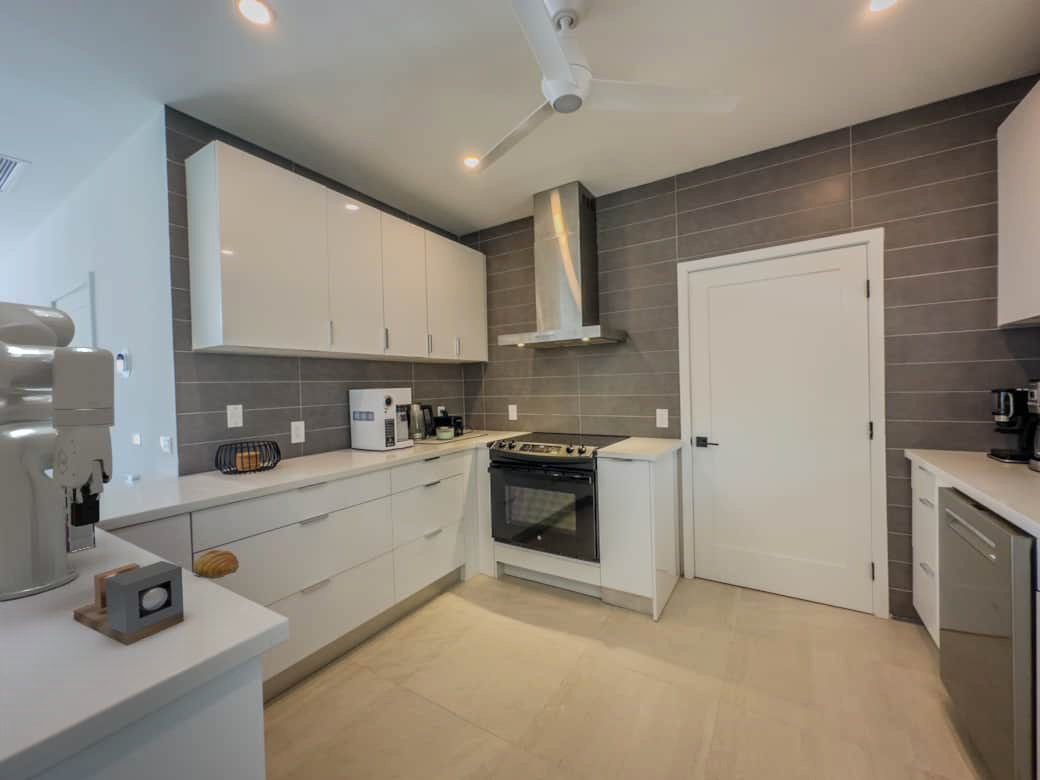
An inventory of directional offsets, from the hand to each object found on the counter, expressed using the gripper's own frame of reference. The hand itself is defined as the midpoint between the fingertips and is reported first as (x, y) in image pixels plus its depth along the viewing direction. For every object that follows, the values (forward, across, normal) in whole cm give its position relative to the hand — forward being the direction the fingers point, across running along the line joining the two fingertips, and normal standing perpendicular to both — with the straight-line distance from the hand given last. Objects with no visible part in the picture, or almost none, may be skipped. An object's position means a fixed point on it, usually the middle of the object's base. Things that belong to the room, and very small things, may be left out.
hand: (85, 523), depth 74 cm
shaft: (+10, +17, 0) cm, 20 cm away
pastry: (+14, +8, +17) cm, 24 cm away
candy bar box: (+16, -44, +12) cm, 48 cm away
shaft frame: (+13, +16, 0) cm, 21 cm away
